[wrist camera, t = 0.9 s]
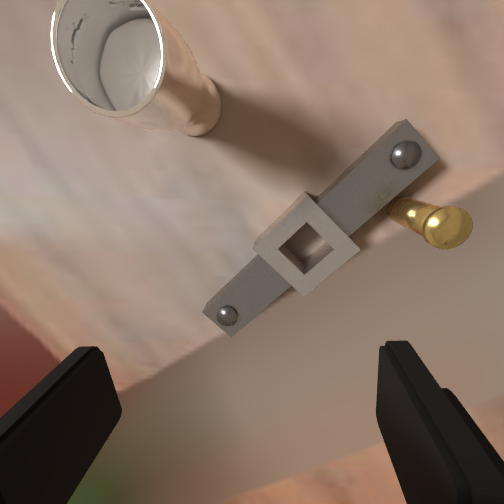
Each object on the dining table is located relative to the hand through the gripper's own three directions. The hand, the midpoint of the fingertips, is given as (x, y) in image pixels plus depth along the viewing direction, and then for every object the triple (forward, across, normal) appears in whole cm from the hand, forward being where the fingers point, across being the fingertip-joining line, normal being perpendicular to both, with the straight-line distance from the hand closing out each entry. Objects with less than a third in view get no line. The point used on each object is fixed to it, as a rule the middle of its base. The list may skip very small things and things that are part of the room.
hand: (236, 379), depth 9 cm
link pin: (+24, -15, 0) cm, 28 cm away
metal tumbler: (+24, +7, -13) cm, 29 cm away
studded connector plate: (+24, -4, +2) cm, 25 cm away
